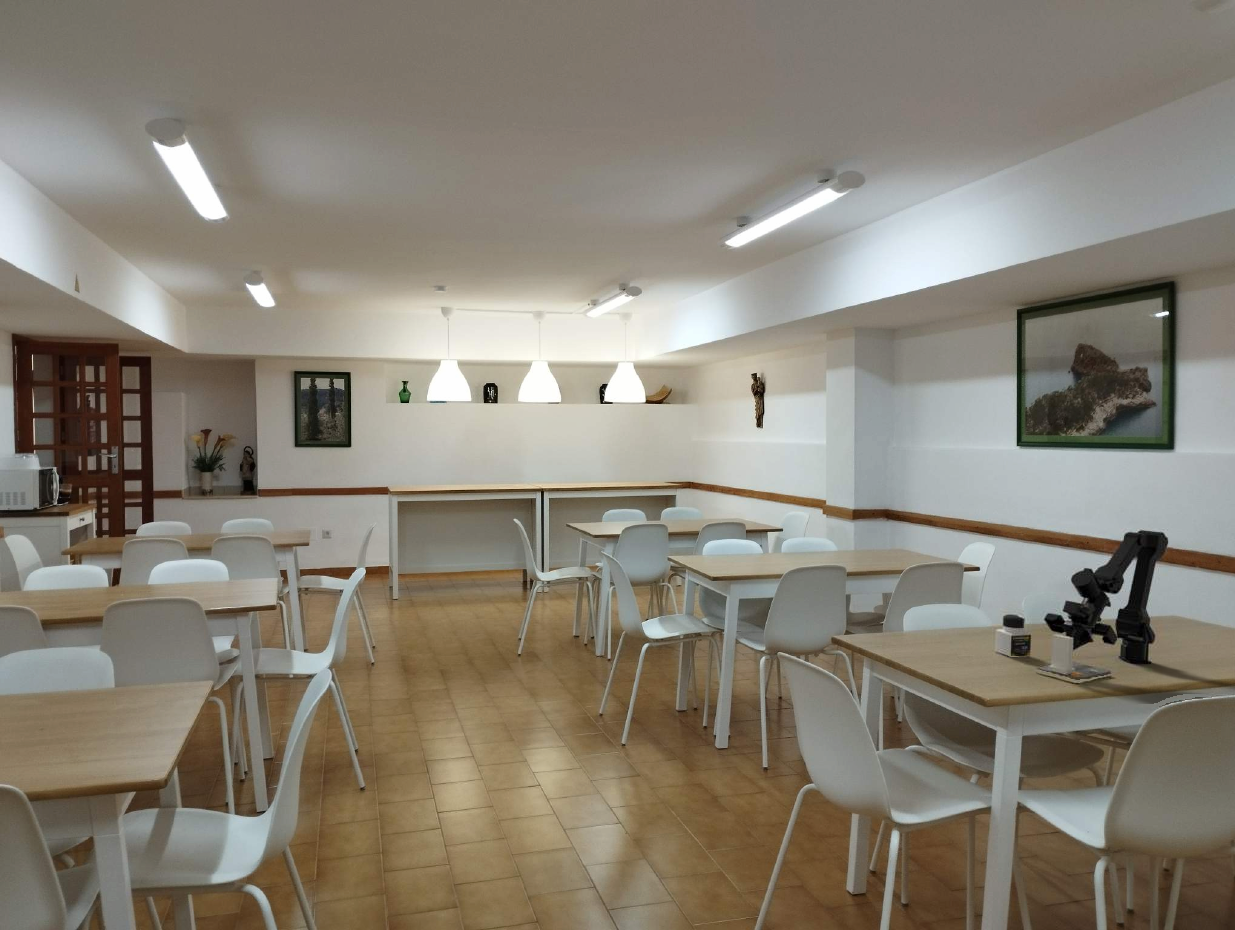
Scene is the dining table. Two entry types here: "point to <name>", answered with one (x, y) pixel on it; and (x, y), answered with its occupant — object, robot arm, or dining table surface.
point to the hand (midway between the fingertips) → (1066, 651)
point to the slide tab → (1062, 654)
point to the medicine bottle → (1013, 637)
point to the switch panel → (1080, 671)
